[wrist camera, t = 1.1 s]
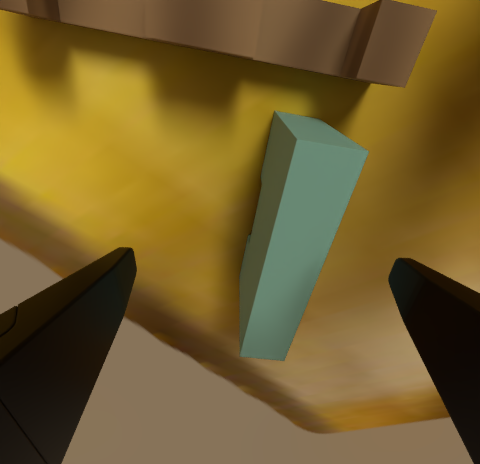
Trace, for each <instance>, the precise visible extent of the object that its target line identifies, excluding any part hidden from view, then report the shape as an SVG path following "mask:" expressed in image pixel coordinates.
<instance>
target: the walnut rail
mask: <svg viewBox="0 0 480 464" xmlns="http://www.w3.org/2000/svg"><path fill="white" fill-rule="evenodd" d="M0 10H5V11H9V12H13V13H17V14H21V15H26V16H30V17H35V18H40V19H46V20H51V21H56V22H61V23H66V24H71V25H76V26H81V27H86V28H92V29H97V30H102V31H107V32H112V33H117V34H122V35H127V36H132V37H137V38H143V39H148V40H153V41H158V42H163V43H168V44H173V45H178V46H183V47H189V48H194V49H199V50H204V51H209V52H214V53H219V54H224V55H229V56H235V57H240V58H245V59H250V60H255V61H260V62H265V63H270V64H275V65H281V66H286V67H291V68H296V69H301V70H306V71H311V72H316V73H321V74H327V75H332V76H337V77H342V78H347V79H352V80H357V81H362V82H367V83H373V84H381V85H389V86H396V87H404V88H405V86H406V83H407V81H408V79H409V76H410V74H411V72H412V69H413V67H414V65H415V62H416V60H417V57H418V55H419V53H420V50H421V48H422V46H423V43H424V41H425V38H426V36H427V34H428V31H429V29H430V27H431V24H432V22H433V19H434V17H435V15H436V12H437V11H436V10H432V9H427V8H423V7H419V6H414V5H410V4H405V3H401V2H396V1H392V0H379V1H377V2H375V3H372V4H370V5H368V6H366V7H364V8H362V9H359V8H354V7H350V6H345V5H340V4H336V3H331V2H327V1H322V0H0Z"/></svg>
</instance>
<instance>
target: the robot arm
mask: <svg viewBox="0 0 480 464" xmlns="http://www.w3.org/2000/svg"><path fill="white" fill-rule="evenodd" d="M136 272H137V267H136V261H135V256H134V251H133V249H132V248H128V247H119V248H117V249H115V250H114V251H112V252H110V253H108V254H107V255H105V256H103V257H101V258H99V259H98V260H96V261H94V262H92V263H91V264H89V265H87V266H85V267H84V268H82V269H80V270H78V271H76V272H75V273H73V274H71V275H69V276H68V277H66V278H64V279H62V280H61V281H59V282H57V283H55V284H53V285H52V286H50V287H48V288H46V289H45V290H43V291H41V292H39V293H38V294H36V295H34V296H32V297H31V298H29V299H27V300H25V301H23V302H22V303H20V304H18V307H17V306H14V307H13V308H11V309H9V310H7V311H6V312H4V313H2V314H0V464H61V463H62V461H63V458H64V456H65V454H66V451H67V449H68V447H69V444H70V442H71V439H72V437H73V435H74V432H75V430H76V428H77V425H78V423H79V421H80V418H81V416H82V414H83V411H84V409H85V406H86V404H87V402H88V399H89V397H90V395H91V392H92V390H93V388H94V385H95V383H96V380H97V378H98V376H99V373H100V371H101V369H102V366H103V364H104V362H105V359H106V357H107V354H108V352H109V350H110V347H111V345H112V343H113V340H114V338H115V335H116V333H117V331H118V328H119V326H120V324H121V321H122V319H123V316H124V314H125V311H126V308H127V304H128V301H129V297H130V294H131V290H132V287H133V283H134V280H135V276H136ZM388 281H389V285H390V288H391V290H392V293H393V296H394V298H395V301H396V304H397V306H398V309H399V312H400V314H401V317H402V319H403V322H404V324H405V326H406V328H407V330H408V332H409V334H410V336H411V338H412V340H413V342H414V344H415V346H416V348H417V350H418V352H419V354H420V356H421V358H422V360H423V362H424V364H425V366H426V368H427V370H428V373H429V375H430V377H431V379H432V381H433V383H434V385H435V387H436V389H437V391H438V393H439V395H440V397H441V399H442V401H443V403H444V405H445V407H446V409H447V411H448V413H449V415H450V417H451V419H452V421H453V423H454V425H455V427H456V429H457V431H458V433H459V435H460V437H461V438H462V441H463V443H464V445H465V447H466V449H467V451H468V453H469V455H470V457H471V459H472V461H473V463H474V464H480V293H478V292H476V291H474V290H472V289H470V288H468V287H466V286H464V285H462V284H460V283H458V282H456V281H455V280H453V279H451V278H449V277H447V276H445V275H443V274H441V273H439V272H437V271H435V270H433V269H431V268H429V267H427V266H425V265H423V264H421V263H419V262H417V261H415V260H413V259H411V258H398V259H396V261H395V263H394V265H393V267H392V270H391V272H390V274H389V278H388Z"/></svg>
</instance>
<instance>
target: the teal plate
mask: <svg viewBox="0 0 480 464" xmlns="http://www.w3.org/2000/svg"><path fill="white" fill-rule="evenodd" d="M368 153H369V151H367V150H366V149H364V148H363V147H361V146H360V145H358V144H357V143H355V142H354V141H352V140H351V139H349V138H348V137H346V136H344V135H343V134H341V133H340V132H338V131H337V130H335V129H334V128H332V127H331V126H329V125H328V124H326V123H325V122H323V121H322V120H320V119H317V118H311V117H306V116H300V115H294V114H289V113H283V112H278V111H274V116H273V121H272V126H271V130H270V135H269V140H268V144H267V149H266V154H265V159H264V163H263V168H262V173H261V182H262V187H261V192H260V196H259V201H258V205H257V210H256V215H255V219H254V224H253V228H252V233H251V235H248V239H247V243H246V248H245V253H244V257H243V262H242V267H241V271H240V276H239V297H240V357H250V358H260V359H270V360H280V361H284V360H285V358H286V355H287V353H288V350H289V348H290V345H291V343H292V340H293V338H294V335H295V333H296V330H297V328H298V326H299V323H300V321H301V318H302V316H303V313H304V311H305V308H306V306H307V303H308V301H309V298H310V296H311V293H312V291H313V288H314V286H315V284H316V281H317V279H318V276H319V274H320V271H321V269H322V266H323V264H324V261H325V259H326V256H327V254H328V251H329V249H330V247H331V244H332V242H333V239H334V237H335V234H336V232H337V229H338V227H339V224H340V222H341V219H342V217H343V214H344V212H345V210H346V207H347V205H348V202H349V200H350V197H351V195H352V192H353V190H354V187H355V185H356V182H357V180H358V177H359V175H360V172H361V170H362V168H363V165H364V163H365V160H366V158H367V155H368Z"/></svg>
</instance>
